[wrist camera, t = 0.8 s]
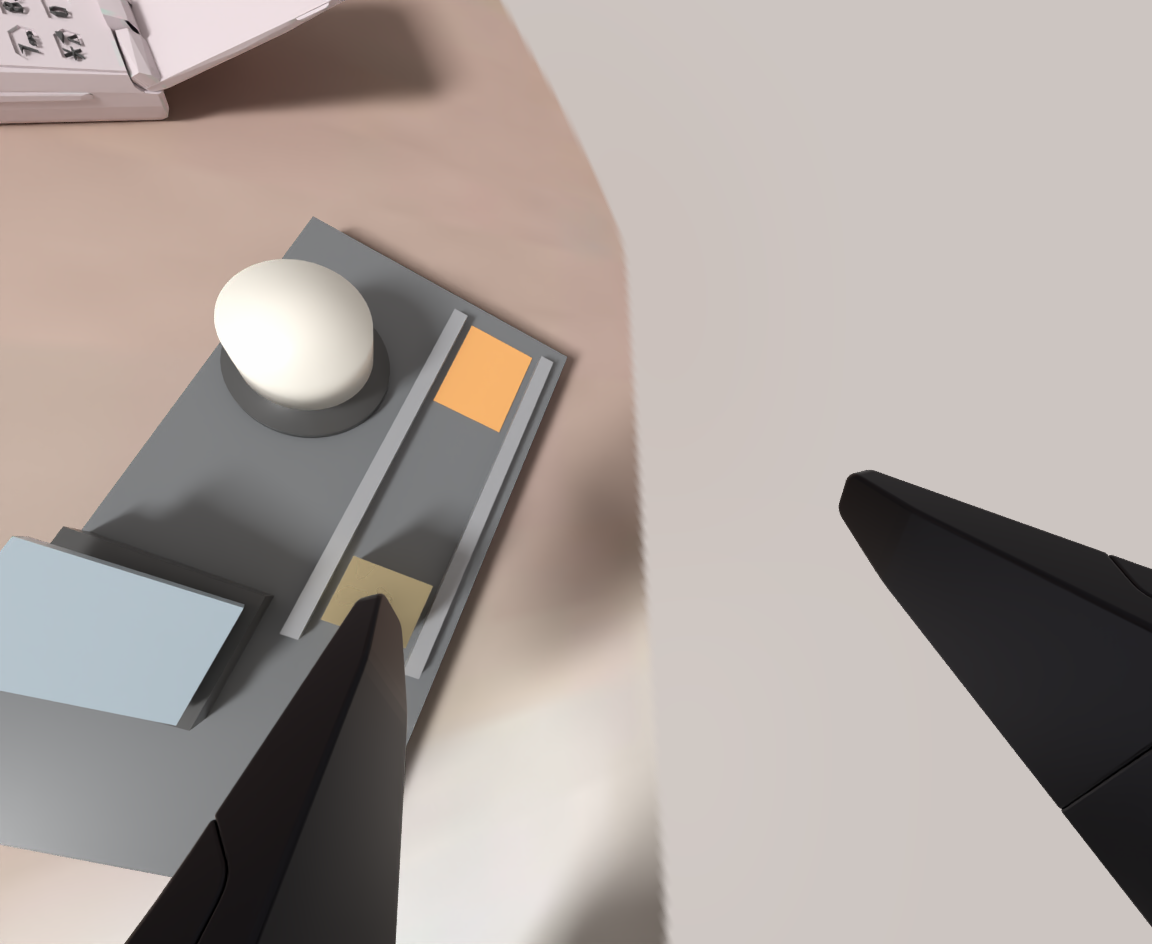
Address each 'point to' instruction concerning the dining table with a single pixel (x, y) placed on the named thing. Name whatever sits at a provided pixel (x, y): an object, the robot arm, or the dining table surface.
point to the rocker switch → (104, 632)
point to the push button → (296, 333)
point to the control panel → (282, 553)
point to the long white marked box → (124, 51)
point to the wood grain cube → (373, 580)
